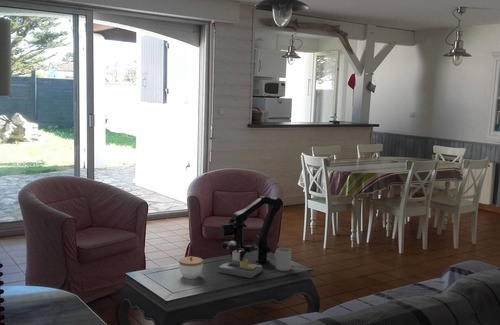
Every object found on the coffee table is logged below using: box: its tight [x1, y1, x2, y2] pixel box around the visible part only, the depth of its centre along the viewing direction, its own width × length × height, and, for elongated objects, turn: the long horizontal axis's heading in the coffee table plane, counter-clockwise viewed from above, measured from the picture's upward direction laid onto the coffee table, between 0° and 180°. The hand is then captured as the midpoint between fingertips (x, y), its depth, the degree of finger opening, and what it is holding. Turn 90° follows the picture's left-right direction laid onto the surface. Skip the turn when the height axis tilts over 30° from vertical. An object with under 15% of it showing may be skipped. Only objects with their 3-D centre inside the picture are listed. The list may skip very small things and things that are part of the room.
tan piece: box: [240, 257, 259, 270], centre depth 284 cm, size 8×8×4 cm
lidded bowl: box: [178, 255, 204, 280], centre depth 275 cm, size 13×13×11 cm
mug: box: [274, 247, 292, 272], centre depth 295 cm, size 12×8×11 cm
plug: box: [231, 248, 242, 262], centre depth 298 cm, size 4×4×10 cm
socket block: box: [217, 259, 263, 279], centre depth 286 cm, size 14×20×3 cm
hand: (237, 261), depth 298 cm, fingers closed on plug, 4 cm apart
